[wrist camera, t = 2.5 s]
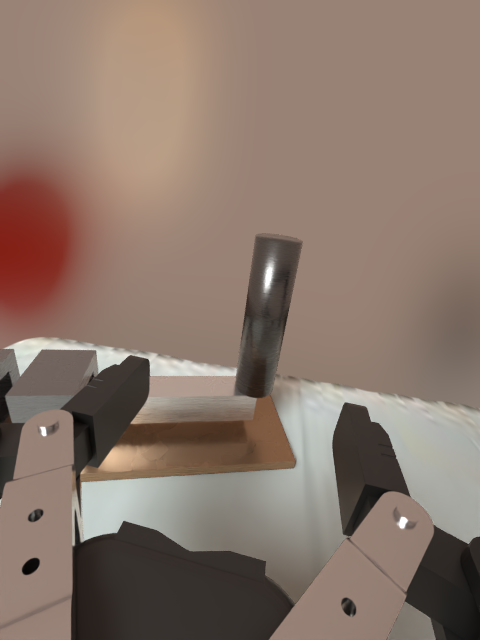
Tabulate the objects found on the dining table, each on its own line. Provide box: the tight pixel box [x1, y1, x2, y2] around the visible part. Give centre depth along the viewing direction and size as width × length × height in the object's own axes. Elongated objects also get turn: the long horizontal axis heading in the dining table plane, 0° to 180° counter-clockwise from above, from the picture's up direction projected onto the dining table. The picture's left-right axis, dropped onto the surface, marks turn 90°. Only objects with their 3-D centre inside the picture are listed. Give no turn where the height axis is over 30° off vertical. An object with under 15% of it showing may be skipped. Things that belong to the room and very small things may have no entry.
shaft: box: [88, 233, 303, 424], centre depth 22 cm, size 17×3×15 cm, turn 99°
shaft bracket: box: [0, 349, 295, 482], centre depth 24 cm, size 28×9×6 cm, turn 99°
